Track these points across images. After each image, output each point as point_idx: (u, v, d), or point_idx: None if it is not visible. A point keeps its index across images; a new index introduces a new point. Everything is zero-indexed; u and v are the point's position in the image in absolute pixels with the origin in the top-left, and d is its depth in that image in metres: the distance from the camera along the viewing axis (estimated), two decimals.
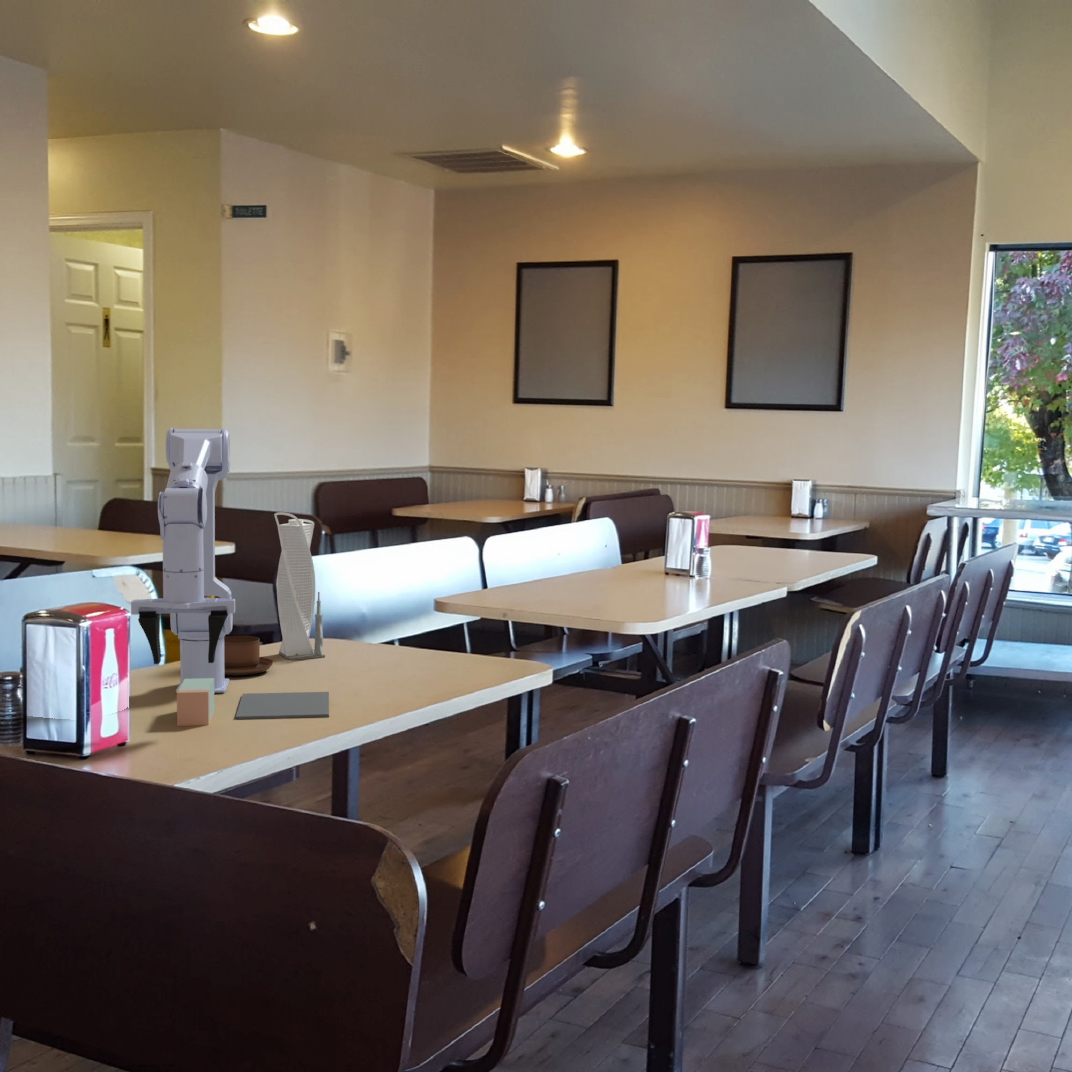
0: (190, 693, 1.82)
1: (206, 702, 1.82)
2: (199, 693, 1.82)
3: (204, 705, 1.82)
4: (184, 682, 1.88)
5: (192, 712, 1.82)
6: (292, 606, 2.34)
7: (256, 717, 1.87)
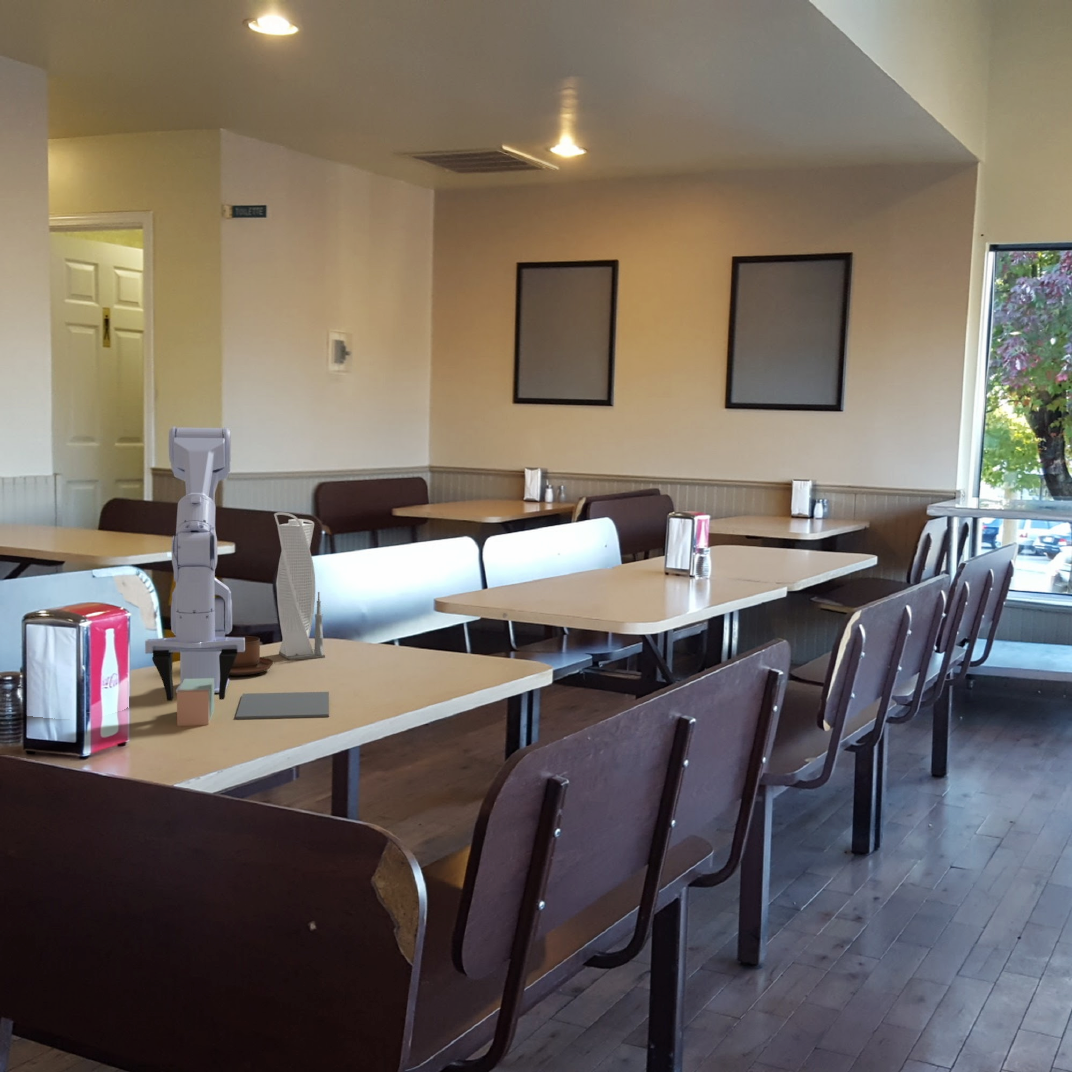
0: (190, 693, 1.82)
1: (206, 702, 1.82)
2: (199, 693, 1.82)
3: (204, 705, 1.82)
4: (184, 682, 1.88)
5: (192, 712, 1.82)
6: (292, 606, 2.34)
7: (256, 717, 1.87)
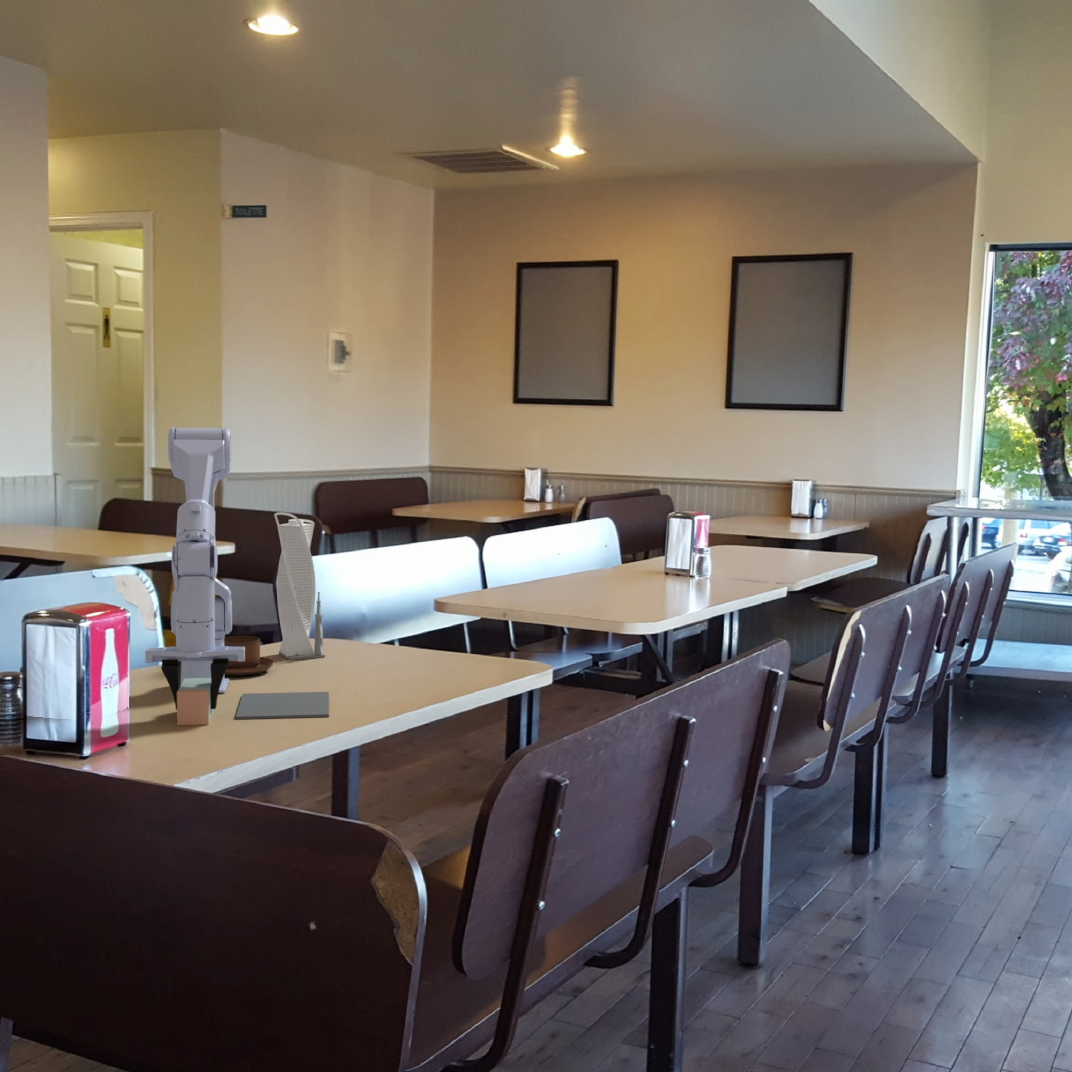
0: (190, 693, 1.82)
1: (206, 702, 1.82)
2: (199, 693, 1.82)
3: (204, 705, 1.82)
4: (184, 682, 1.88)
5: (192, 712, 1.82)
6: (292, 606, 2.34)
7: (256, 717, 1.87)
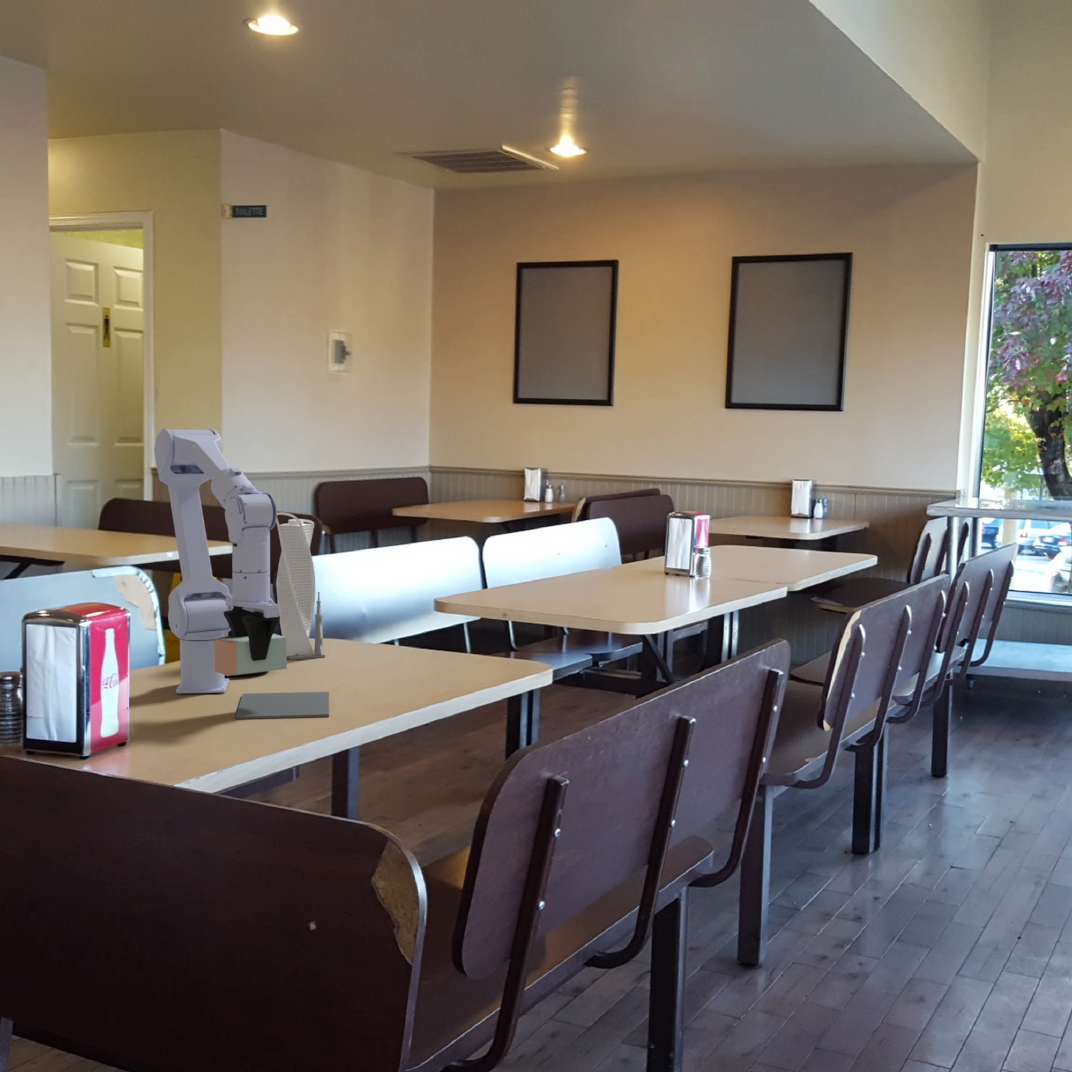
0: (219, 642, 1.88)
1: (226, 653, 1.86)
2: (223, 643, 1.87)
3: (225, 656, 1.87)
4: None
5: (220, 661, 1.88)
6: (292, 606, 2.34)
7: (256, 717, 1.87)
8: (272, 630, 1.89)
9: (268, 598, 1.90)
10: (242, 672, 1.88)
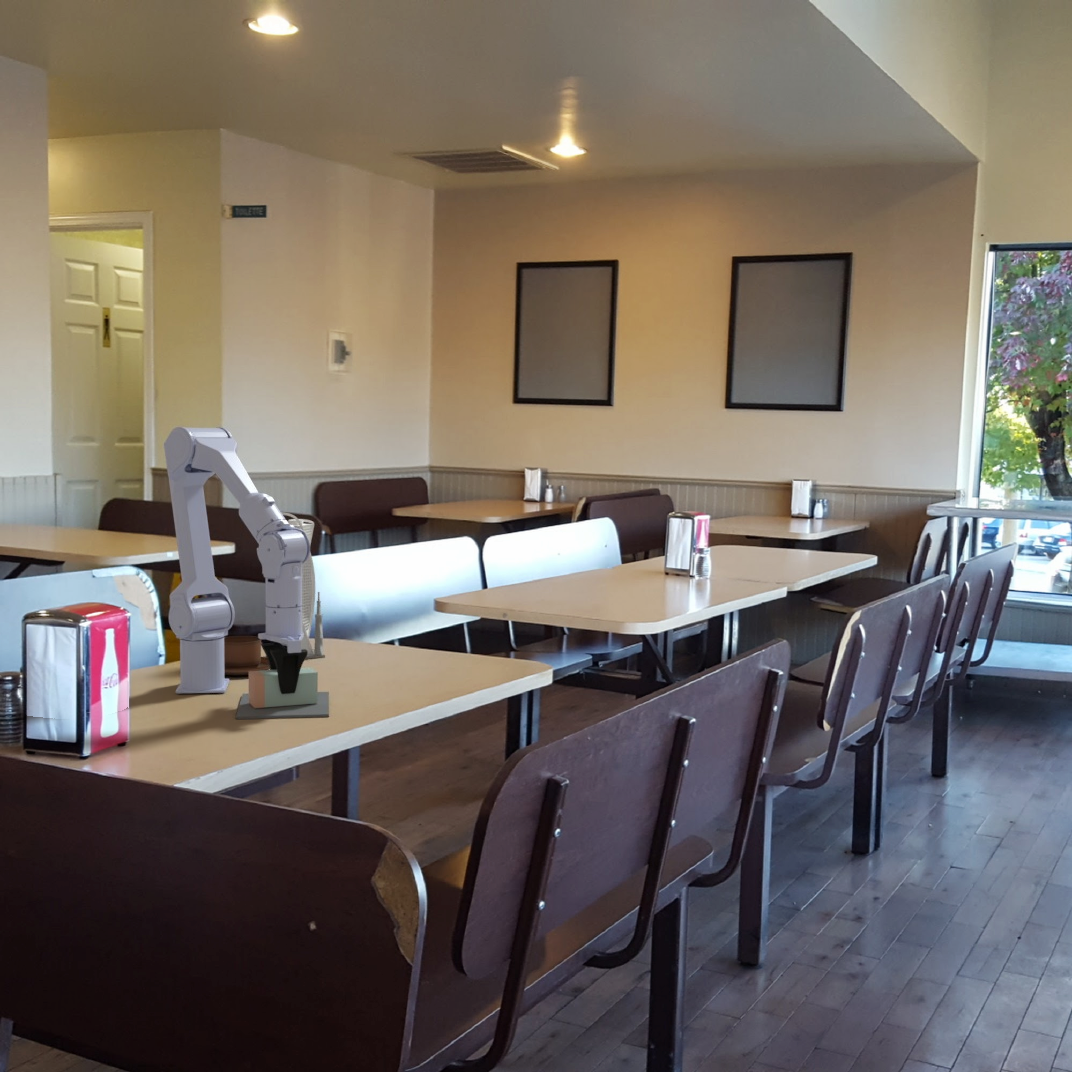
0: (251, 674, 1.93)
1: (254, 686, 1.91)
2: (252, 676, 1.91)
3: (253, 688, 1.91)
4: None
5: (251, 692, 1.93)
6: None
7: (256, 717, 1.87)
8: (300, 664, 1.92)
9: (298, 633, 1.93)
10: (270, 705, 1.92)
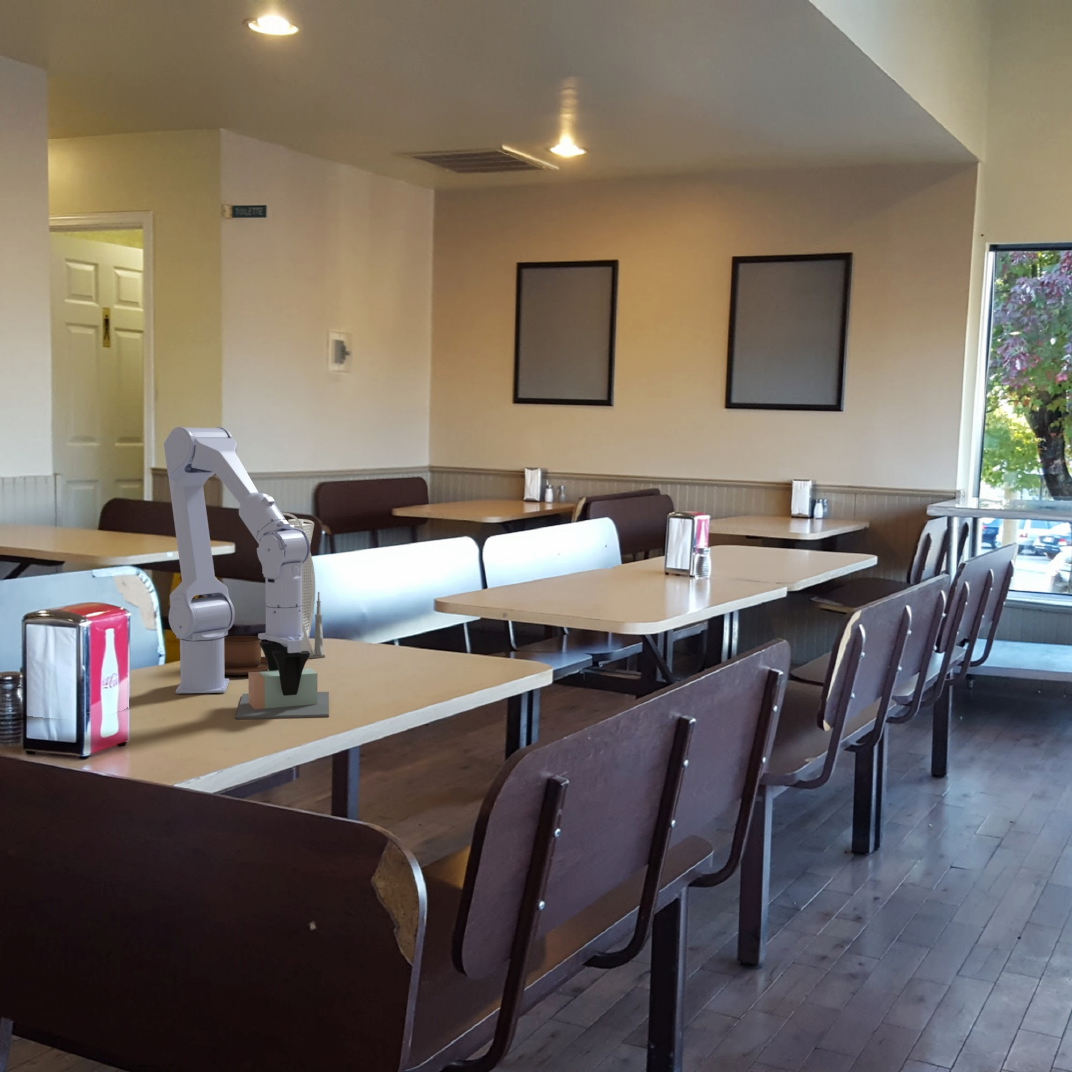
0: (251, 675, 1.93)
1: (254, 687, 1.91)
2: (252, 677, 1.92)
3: (253, 689, 1.91)
4: None
5: (251, 693, 1.93)
6: None
7: (256, 717, 1.87)
8: (302, 666, 1.90)
9: (298, 633, 1.93)
10: (270, 706, 1.92)
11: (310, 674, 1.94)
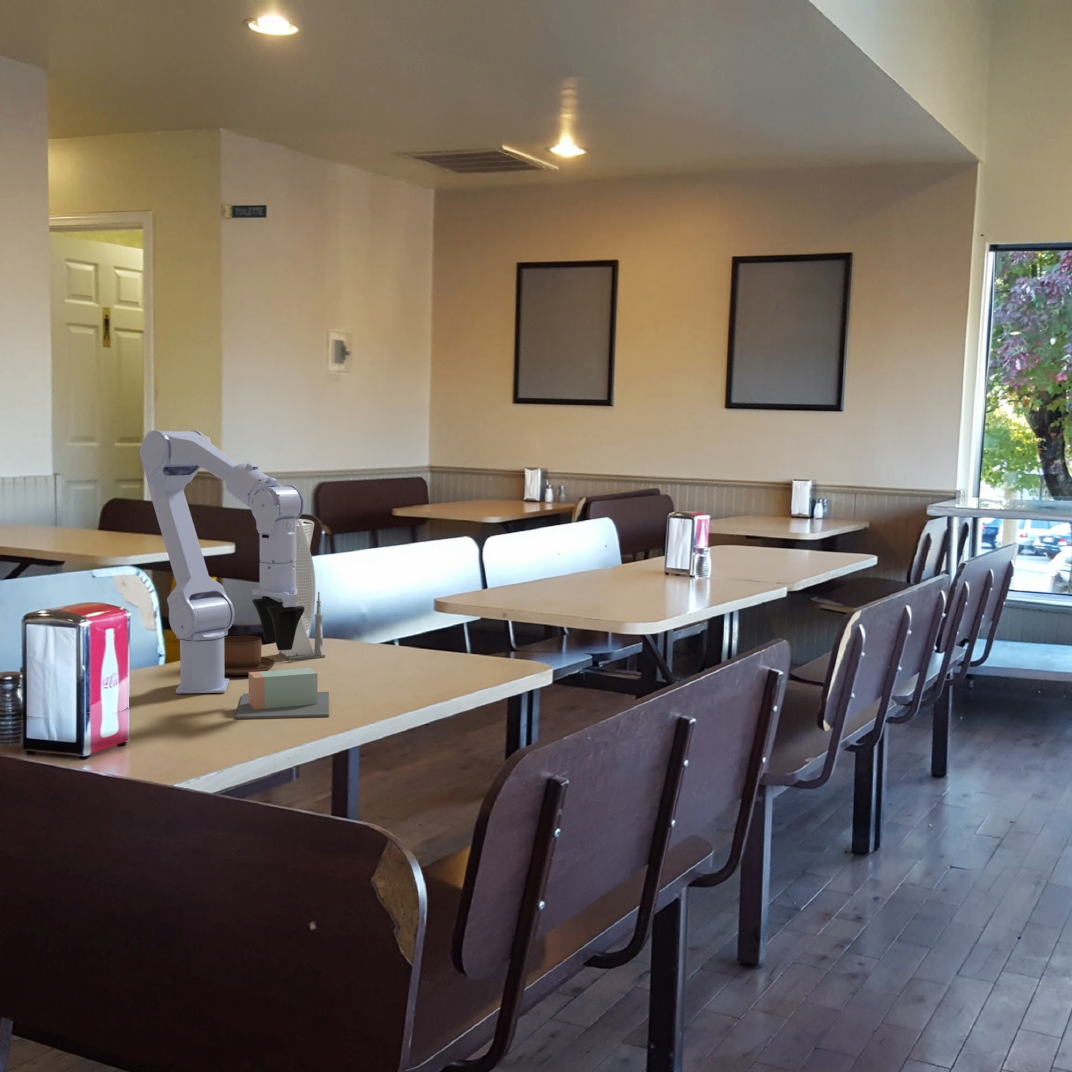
0: (251, 675, 1.93)
1: (254, 687, 1.91)
2: (252, 677, 1.92)
3: (253, 689, 1.91)
4: (293, 669, 1.97)
5: (251, 693, 1.93)
6: None
7: (256, 717, 1.87)
8: (296, 621, 1.92)
9: (293, 588, 1.94)
10: (270, 706, 1.92)
11: (310, 674, 1.94)
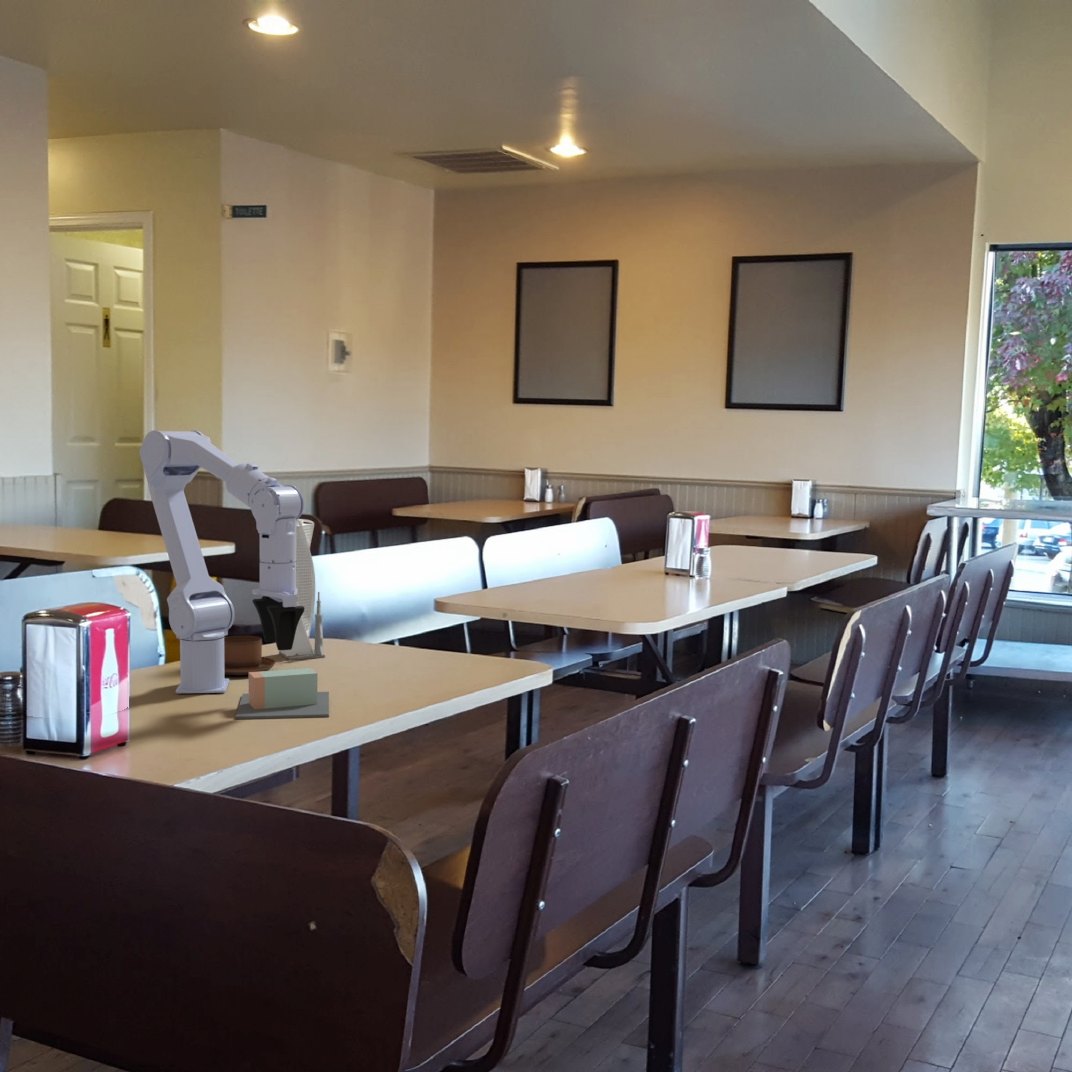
0: (251, 675, 1.93)
1: (254, 687, 1.91)
2: (252, 677, 1.92)
3: (253, 689, 1.91)
4: (293, 669, 1.97)
5: (251, 693, 1.93)
6: None
7: (256, 717, 1.87)
8: (296, 621, 1.92)
9: (293, 588, 1.94)
10: (270, 706, 1.92)
11: (310, 674, 1.94)
